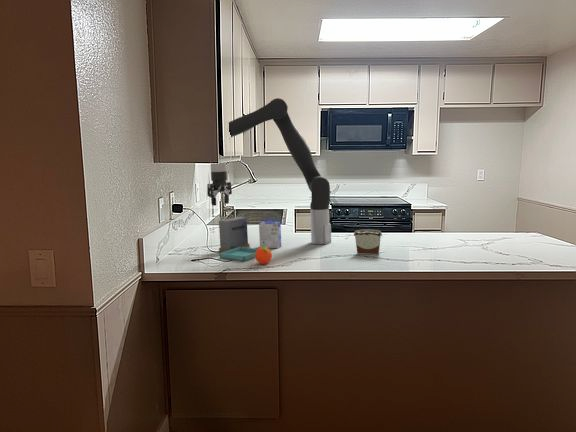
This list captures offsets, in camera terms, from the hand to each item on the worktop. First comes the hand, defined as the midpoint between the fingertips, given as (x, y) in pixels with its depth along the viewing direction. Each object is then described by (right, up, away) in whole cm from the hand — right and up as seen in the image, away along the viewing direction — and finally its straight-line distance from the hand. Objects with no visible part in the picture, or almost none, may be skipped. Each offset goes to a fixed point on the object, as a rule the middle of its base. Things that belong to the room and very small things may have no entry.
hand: (220, 204), depth 197 cm
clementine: (+23, -26, -29) cm, 45 cm away
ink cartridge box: (+24, -21, +3) cm, 32 cm away
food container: (+69, -22, -16) cm, 74 cm away
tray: (+12, -24, -14) cm, 30 cm away
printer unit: (+7, -22, -1) cm, 23 cm away
